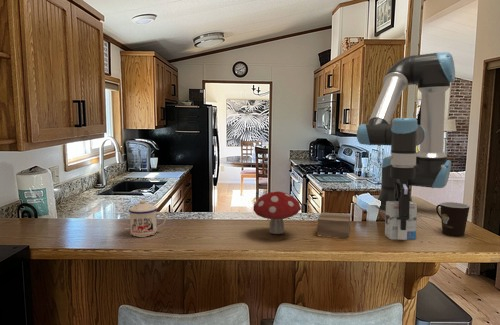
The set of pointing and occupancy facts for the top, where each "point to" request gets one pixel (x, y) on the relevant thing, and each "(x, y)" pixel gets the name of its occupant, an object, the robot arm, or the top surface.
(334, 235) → the taupe block
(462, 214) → the coffee mug
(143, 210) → the teacup with lid
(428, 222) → the top surface
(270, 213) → the decorative mushroom
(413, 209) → the ink box
